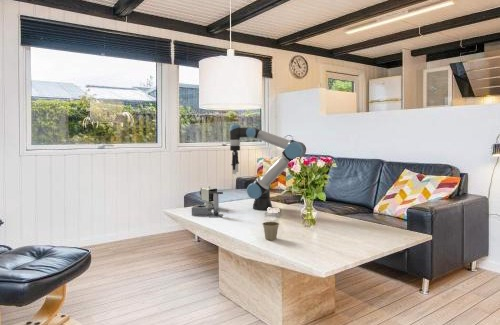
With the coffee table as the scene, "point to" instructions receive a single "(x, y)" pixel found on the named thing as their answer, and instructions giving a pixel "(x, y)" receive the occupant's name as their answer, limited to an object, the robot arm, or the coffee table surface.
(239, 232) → the coffee table surface
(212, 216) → the pad
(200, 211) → the chuck
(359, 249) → the coffee table surface
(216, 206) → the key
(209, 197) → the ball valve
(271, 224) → the flower pot
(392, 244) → the coffee table surface
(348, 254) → the coffee table surface
